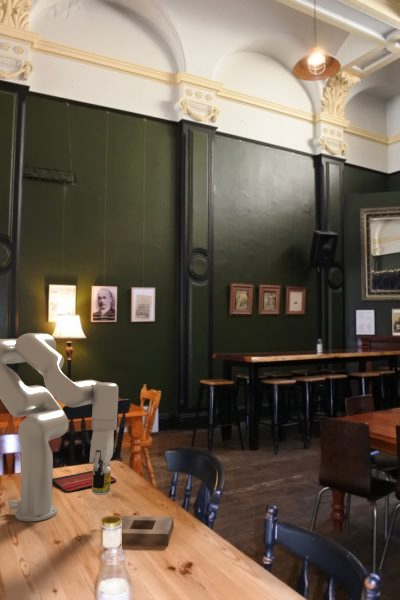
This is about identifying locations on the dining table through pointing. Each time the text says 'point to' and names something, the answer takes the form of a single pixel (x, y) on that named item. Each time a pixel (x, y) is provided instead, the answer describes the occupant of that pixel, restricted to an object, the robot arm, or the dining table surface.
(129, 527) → the socket block
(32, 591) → the dining table surface
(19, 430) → the robot arm
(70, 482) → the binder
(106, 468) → the supplement bottle
